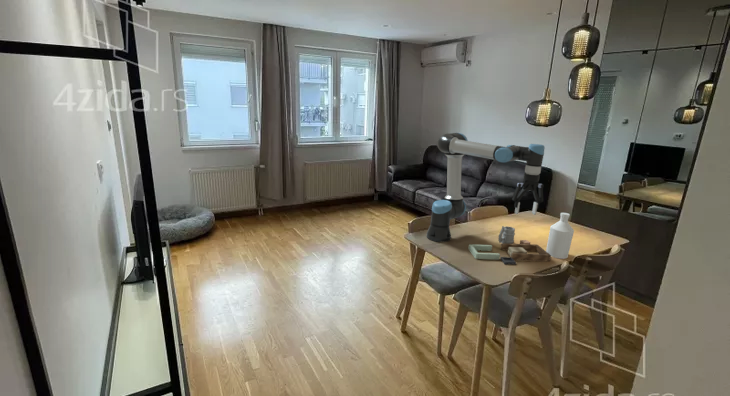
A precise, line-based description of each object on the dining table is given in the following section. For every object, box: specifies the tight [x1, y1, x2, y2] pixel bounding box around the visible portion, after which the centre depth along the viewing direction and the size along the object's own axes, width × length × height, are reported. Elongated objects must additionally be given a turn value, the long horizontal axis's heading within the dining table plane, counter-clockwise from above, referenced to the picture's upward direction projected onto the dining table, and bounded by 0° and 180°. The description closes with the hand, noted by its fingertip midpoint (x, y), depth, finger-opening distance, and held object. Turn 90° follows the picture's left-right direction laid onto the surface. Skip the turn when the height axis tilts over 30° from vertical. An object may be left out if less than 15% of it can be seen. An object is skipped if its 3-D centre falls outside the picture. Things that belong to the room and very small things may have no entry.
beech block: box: [507, 247, 528, 257], centre depth 198 cm, size 8×6×4 cm
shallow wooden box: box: [500, 243, 552, 262], centre depth 199 cm, size 22×15×4 cm
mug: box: [497, 225, 516, 244], centre depth 213 cm, size 8×12×12 cm, turn 117°
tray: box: [499, 256, 517, 265], centre depth 189 cm, size 6×6×1 cm
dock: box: [467, 243, 501, 260], centre depth 198 cm, size 13×13×3 cm
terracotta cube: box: [519, 239, 531, 244], centre depth 210 cm, size 4×4×4 cm
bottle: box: [545, 212, 575, 260], centre depth 199 cm, size 12×12×25 cm
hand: (525, 213), depth 191 cm, fingers open, 9 cm apart
